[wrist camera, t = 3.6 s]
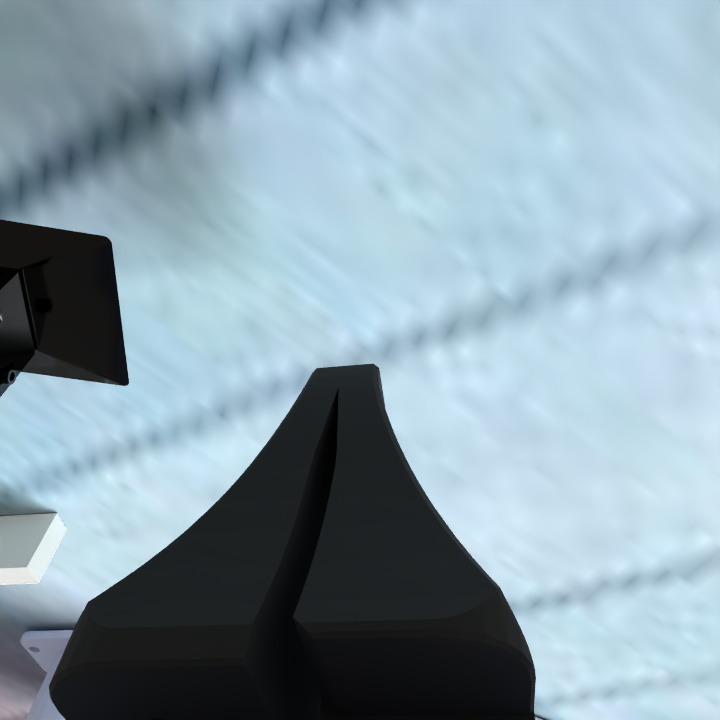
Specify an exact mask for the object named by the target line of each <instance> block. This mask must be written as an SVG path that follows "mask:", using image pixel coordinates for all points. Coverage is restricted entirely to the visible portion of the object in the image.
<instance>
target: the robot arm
mask: <svg viewBox="0 0 720 720" xmlns="http://www.w3.org/2000/svg"><path fill="white" fill-rule="evenodd" d="M20 643H21V645H22V646H23V647H24V648H25V649H26V650H27V652H28V653H29V654H30V655H31V656H32V657H33V659H34V660H35V661H36V662H37V663H38V664H39V665H40V667H41V668H42V669H43V670H44V671H45V672H46V676H45V679H44V681H43V683H42V685H41V687H40V690H39V692H38V694H37V696H36V698H35V701H34V703H33V705H32V707H31V709H30V711H29V714H28V716H27V718H26V720H535V715H534V697H535V680H536V676H535V668H534V664H533V660H532V657H531V653H530V650H529V647H528V645H527V642H526V640H525V637H524V635H523V633H522V631H521V628H520V626H519V624H518V622H517V620H516V618H515V616H514V614H513V612H512V610H511V608H510V606H509V604H508V602H507V600H506V599H505V597H504V595H503V593H502V591H501V589H500V587H499V586H498V585H497V584H496V583H495V582H494V581H493V580H492V579H491V577H490V576H489V575H488V574H487V573H486V572H485V571H484V570H483V569H482V568H481V567H480V565H479V564H478V563H477V562H476V561H475V560H474V559H473V558H472V556H471V555H470V554H469V553H468V551H467V550H466V549H465V548H464V547H463V545H462V544H461V543H460V542H459V540H458V539H457V538H456V537H455V535H454V534H453V532H452V531H451V530H450V528H449V527H448V526H447V524H446V523H445V521H444V520H443V519H442V517H441V516H440V515H439V513H438V512H437V510H436V509H435V508H434V506H433V505H432V503H431V501H430V500H429V498H428V497H427V495H426V494H425V492H424V490H423V489H422V487H421V485H420V484H419V482H418V480H417V479H416V477H415V475H414V473H413V471H412V470H411V468H410V466H409V464H408V462H407V460H406V458H405V456H404V454H403V452H402V450H401V448H400V445H399V443H398V441H397V439H396V436H395V434H394V432H393V429H392V426H391V424H390V421H389V418H388V416H387V413H386V410H385V404H384V397H383V390H382V384H381V377H380V371H379V368H378V367H377V366H376V365H374V364H364V365H352V366H339V367H327V368H317V369H316V370H315V371H314V372H313V373H312V375H311V376H310V378H309V380H308V382H307V383H306V385H305V387H304V388H303V390H302V392H301V393H300V395H299V397H298V398H297V400H296V401H295V403H294V405H293V406H292V408H291V409H290V411H289V412H288V414H287V415H286V417H285V418H284V420H283V421H282V423H281V424H280V426H279V427H278V429H277V430H276V431H275V433H274V434H273V436H272V437H271V438H270V440H269V441H268V442H267V444H266V445H265V446H264V448H263V449H262V450H261V452H260V453H259V454H258V455H257V457H256V458H255V459H254V461H253V462H252V463H251V464H250V466H249V467H248V468H247V469H246V470H245V472H244V473H243V474H242V475H241V476H240V477H239V479H238V480H237V481H236V482H235V483H234V484H233V485H232V486H231V487H230V489H229V490H228V491H227V492H226V493H225V494H224V495H223V496H222V497H221V498H220V499H219V500H218V501H217V502H216V503H215V504H214V505H213V506H212V507H211V508H210V509H209V510H208V511H207V512H206V513H205V514H204V515H203V516H201V517H200V518H199V519H198V520H197V521H196V522H195V523H194V524H193V525H192V526H191V527H190V528H188V529H187V530H186V531H185V532H184V533H183V534H182V535H180V536H179V537H178V538H177V539H175V540H174V541H173V542H172V543H171V544H169V545H168V546H167V547H166V548H164V549H163V550H162V551H161V552H159V553H158V554H157V555H155V556H154V557H153V558H151V559H150V560H149V561H148V562H146V563H145V564H144V565H142V566H141V567H139V568H138V569H137V570H135V571H134V572H132V573H131V574H129V575H128V576H127V577H125V578H124V579H122V580H121V581H119V582H118V583H116V584H115V585H113V586H112V587H110V588H109V589H107V590H106V591H104V592H103V593H101V594H100V595H98V596H97V597H95V598H94V599H92V600H91V601H89V602H88V603H87V605H86V607H85V609H84V611H83V613H82V614H81V616H80V618H79V620H78V622H77V624H76V625H75V628H74V630H50V631H27V632H25V633H23V635H22V637H21V639H20Z"/></svg>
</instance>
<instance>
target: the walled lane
mask: <svg viewBox="0 0 720 720" xmlns="http://www.w3.org/2000/svg"><path fill="white" fill-rule="evenodd" d="M66 531H67V528H66V526H65V525H64V523H63V521H62V520H61V518H60V517H59V515H58V514H57V513H48V514H30V515H12V516H0V585H11V584H36V583H39V582H40V580H41V578H42V576H43V574H44V572H45V571H46V569H47V567H48V565H49V563H50V561H51V559H52V557H53V555H54V554H55V552H56V550H57V548H58V546H59V544H60V542H61V540H62V538H63V537H64V535H65V533H66Z"/></svg>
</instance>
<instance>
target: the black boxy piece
mask: <svg viewBox="0 0 720 720" xmlns="http://www.w3.org/2000/svg"><path fill="white" fill-rule="evenodd" d="M20 372H27V373H35V374H42V375H49V376H56V377H64V378H71V379H78V380H86V381H93V382H100V383H107V384H115V385H122V386H126V385H128V384H129V379H128V371H127V363H126V355H125V347H124V339H123V331H122V323H121V315H120V307H119V299H118V291H117V283H116V275H115V267H114V259H113V251H112V243H111V241H110V240H109V239H108V238H107V237H105V236H99V235H93V234H87V233H81V232H74V231H68V230H62V229H56V228H49V227H43V226H37V225H31V224H24V223H18V222H12V221H6V220H0V397H1V396H2V394H3V393H4V392H5V391H6V389H7V388H8V387H9V386H10V385H11V384H13V383H14V382H15V379H16V377H17V376H18V375H19V373H20Z"/></svg>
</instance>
